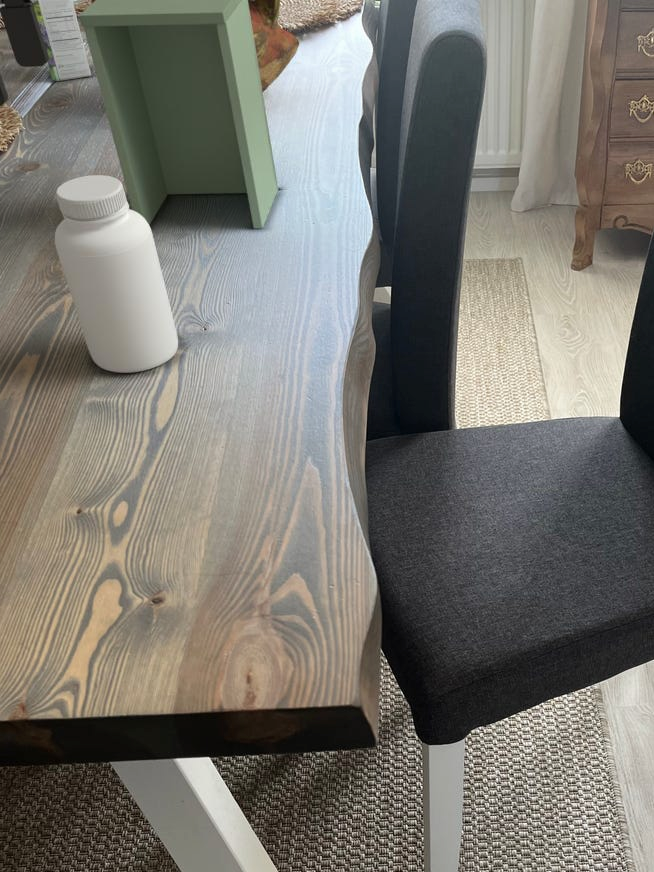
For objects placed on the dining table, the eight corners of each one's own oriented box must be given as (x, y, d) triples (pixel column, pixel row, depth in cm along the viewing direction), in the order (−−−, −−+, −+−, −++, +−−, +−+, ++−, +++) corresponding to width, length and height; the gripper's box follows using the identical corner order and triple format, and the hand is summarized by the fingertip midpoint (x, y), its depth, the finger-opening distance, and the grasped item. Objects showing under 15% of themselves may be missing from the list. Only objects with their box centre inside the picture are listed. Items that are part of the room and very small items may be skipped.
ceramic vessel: (116, 97, 144) (60, -119, 127) (294, 75, 150) (264, -135, 132) (125, 136, 133) (65, -95, 115) (317, 111, 138) (289, -114, 120)
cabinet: (261, 230, 111) (223, 12, 96) (136, 232, 111) (78, 15, 96) (279, 187, 119) (245, -19, 104) (162, 189, 120) (112, -16, 105)
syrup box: (49, 71, 154) (16, -41, 143) (89, 66, 155) (59, -46, 145) (53, 82, 150) (19, -33, 140) (94, 76, 151) (63, -38, 141)
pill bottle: (137, 384, 89) (85, 213, 78) (73, 361, 92) (16, 194, 81) (199, 344, 93) (158, 178, 83) (137, 324, 96) (90, 161, 86)
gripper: (-99, -230, 64) (-2, 55, 75) (-212, -204, 54) (-81, 121, 65) (17, -235, 63) (96, 52, 75) (-74, -210, 53) (33, 117, 65)
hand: (14, 84), depth 70 cm, fingers open, 8 cm apart
